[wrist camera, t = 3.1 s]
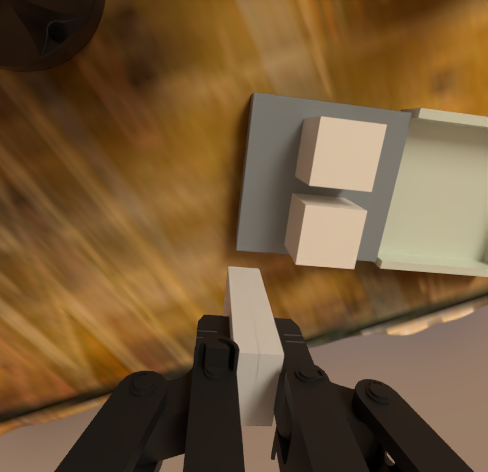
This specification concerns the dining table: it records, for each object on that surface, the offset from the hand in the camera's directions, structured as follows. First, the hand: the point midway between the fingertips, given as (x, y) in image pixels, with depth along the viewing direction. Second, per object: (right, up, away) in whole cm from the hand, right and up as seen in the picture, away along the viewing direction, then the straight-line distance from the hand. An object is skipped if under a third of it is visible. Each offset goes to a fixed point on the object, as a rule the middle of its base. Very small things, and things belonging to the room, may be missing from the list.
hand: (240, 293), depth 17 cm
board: (+7, +8, +17) cm, 20 cm away
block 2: (+7, +4, +15) cm, 17 cm away
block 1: (+8, +10, +13) cm, 19 cm away
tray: (+21, +7, +18) cm, 29 cm away
